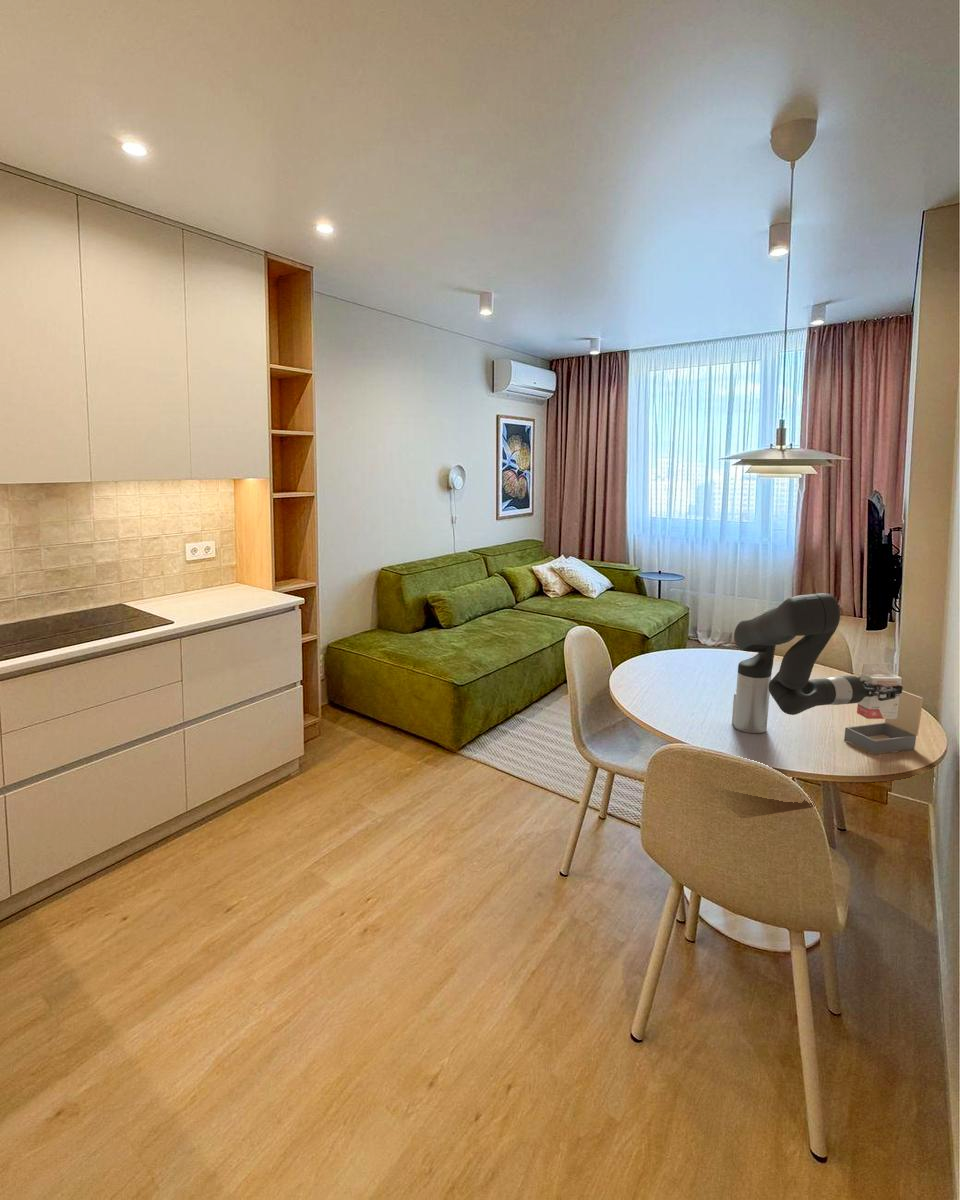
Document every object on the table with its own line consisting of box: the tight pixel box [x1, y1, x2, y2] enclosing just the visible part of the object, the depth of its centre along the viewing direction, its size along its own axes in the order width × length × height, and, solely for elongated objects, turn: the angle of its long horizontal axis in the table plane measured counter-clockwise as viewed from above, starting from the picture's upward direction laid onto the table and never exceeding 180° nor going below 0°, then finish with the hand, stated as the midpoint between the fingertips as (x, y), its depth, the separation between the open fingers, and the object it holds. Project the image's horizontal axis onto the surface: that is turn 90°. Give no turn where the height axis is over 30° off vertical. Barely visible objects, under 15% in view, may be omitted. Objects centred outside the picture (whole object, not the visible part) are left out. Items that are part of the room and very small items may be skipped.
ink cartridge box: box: [856, 662, 903, 720], centre depth 172 cm, size 9×5×15 cm, turn 92°
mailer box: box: [843, 689, 924, 756], centre depth 176 cm, size 10×15×15 cm
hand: (891, 685), depth 172 cm, fingers closed on ink cartridge box, 5 cm apart
